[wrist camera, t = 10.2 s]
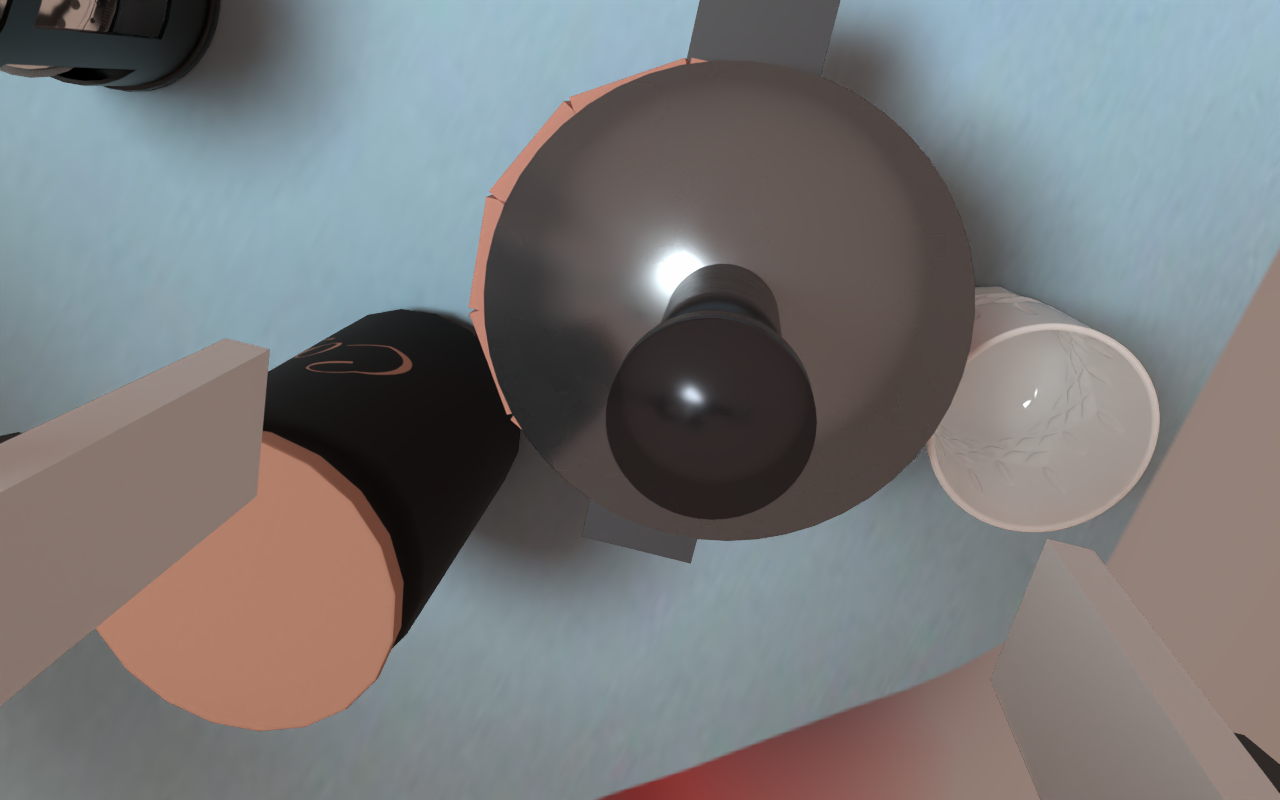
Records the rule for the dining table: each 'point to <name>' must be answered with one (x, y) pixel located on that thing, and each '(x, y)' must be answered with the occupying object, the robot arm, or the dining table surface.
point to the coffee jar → (329, 528)
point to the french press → (102, 42)
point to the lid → (729, 300)
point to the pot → (724, 30)
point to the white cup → (1043, 419)
